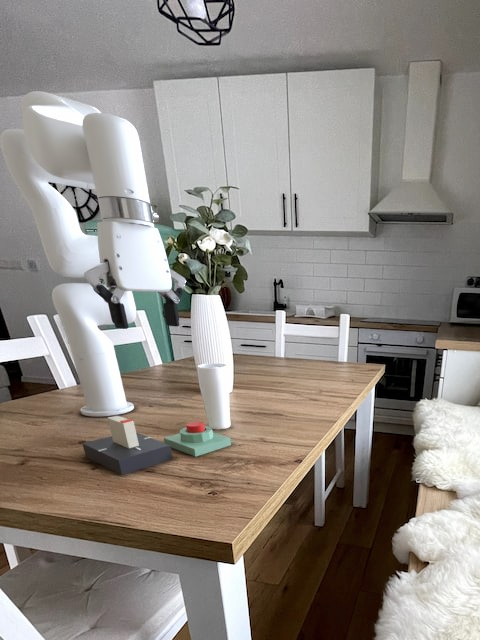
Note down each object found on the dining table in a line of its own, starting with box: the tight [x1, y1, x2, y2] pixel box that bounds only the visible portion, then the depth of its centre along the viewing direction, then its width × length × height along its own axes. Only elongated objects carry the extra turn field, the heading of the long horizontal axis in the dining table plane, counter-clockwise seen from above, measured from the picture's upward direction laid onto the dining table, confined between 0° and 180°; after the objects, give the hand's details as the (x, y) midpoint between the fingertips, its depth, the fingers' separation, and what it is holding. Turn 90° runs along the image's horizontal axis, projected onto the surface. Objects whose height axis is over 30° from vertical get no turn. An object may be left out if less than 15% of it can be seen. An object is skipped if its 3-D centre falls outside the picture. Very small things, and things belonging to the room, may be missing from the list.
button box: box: [163, 425, 232, 458], centre depth 86 cm, size 11×9×4 cm
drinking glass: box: [196, 363, 232, 431], centre depth 95 cm, size 7×7×15 cm
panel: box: [81, 431, 173, 476], centre depth 78 cm, size 14×10×3 cm
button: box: [185, 421, 205, 433], centre depth 85 cm, size 4×4×2 cm
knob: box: [106, 415, 139, 448], centre depth 77 cm, size 6×2×5 cm, turn 55°
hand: (148, 327), depth 72 cm, fingers open, 9 cm apart
